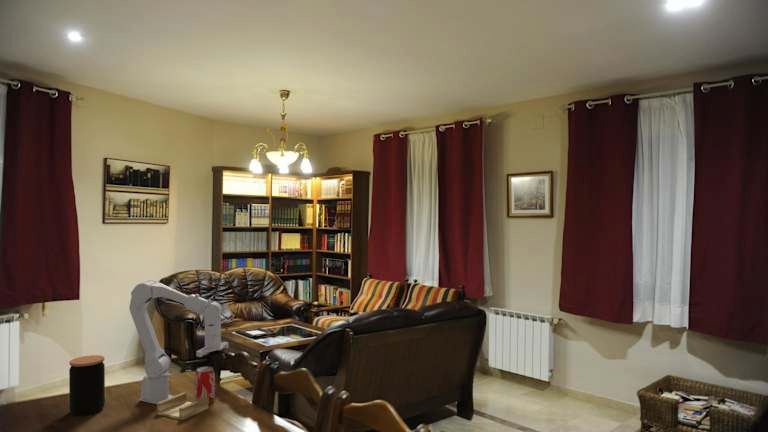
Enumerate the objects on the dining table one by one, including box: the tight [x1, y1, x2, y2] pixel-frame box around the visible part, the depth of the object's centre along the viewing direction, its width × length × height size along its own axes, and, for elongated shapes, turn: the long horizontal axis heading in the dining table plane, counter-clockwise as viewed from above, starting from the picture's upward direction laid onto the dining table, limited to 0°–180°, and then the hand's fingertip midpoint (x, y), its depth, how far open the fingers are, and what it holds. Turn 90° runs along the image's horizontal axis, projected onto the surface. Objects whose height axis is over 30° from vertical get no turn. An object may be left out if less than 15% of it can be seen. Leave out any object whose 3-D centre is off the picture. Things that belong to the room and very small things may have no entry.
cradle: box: [156, 392, 209, 421], centre depth 177 cm, size 12×12×4 cm
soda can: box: [194, 365, 216, 404], centre depth 186 cm, size 7×7×12 cm
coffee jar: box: [68, 354, 106, 417], centre depth 178 cm, size 11×11×18 cm
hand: (213, 371), depth 190 cm, fingers closed
